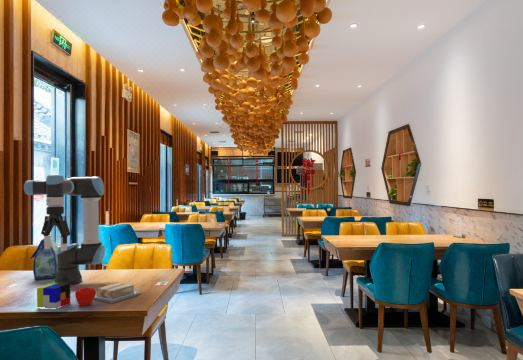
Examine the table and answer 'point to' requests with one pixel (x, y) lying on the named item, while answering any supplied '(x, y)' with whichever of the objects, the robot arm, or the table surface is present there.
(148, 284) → the table surface
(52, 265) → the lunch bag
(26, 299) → the table surface
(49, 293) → the puzzle toy
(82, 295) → the apple
